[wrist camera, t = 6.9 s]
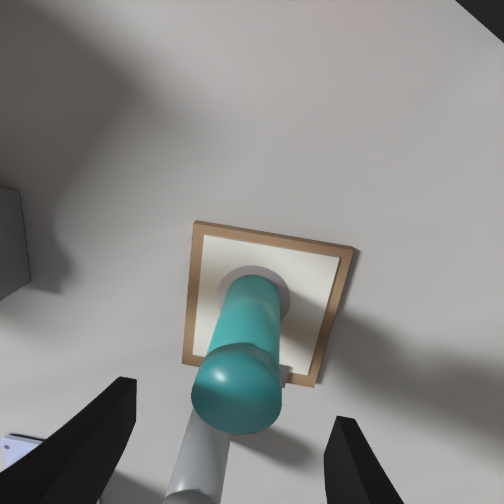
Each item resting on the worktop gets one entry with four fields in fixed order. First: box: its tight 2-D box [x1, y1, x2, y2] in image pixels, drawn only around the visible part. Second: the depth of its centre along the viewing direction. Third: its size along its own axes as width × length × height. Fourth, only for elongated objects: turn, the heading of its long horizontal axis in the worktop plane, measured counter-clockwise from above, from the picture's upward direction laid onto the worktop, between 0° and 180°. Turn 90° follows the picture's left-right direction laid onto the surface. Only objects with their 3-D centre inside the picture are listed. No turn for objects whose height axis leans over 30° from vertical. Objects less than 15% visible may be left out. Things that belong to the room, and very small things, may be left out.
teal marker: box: [191, 275, 282, 434], centre depth 16 cm, size 3×3×8 cm
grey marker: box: [161, 408, 231, 504], centre depth 21 cm, size 3×3×8 cm
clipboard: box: [182, 220, 354, 388], centre depth 20 cm, size 10×9×1 cm
